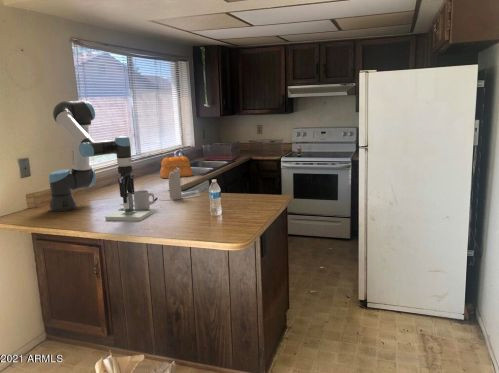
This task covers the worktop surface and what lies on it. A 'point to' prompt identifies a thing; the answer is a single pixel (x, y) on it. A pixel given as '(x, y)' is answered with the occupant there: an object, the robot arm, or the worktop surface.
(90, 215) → the worktop surface
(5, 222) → the worktop surface
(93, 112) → the robot arm
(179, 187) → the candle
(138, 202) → the mug
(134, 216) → the plate
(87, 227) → the worktop surface
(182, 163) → the bread
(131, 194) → the grey metal cylinder
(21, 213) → the worktop surface
